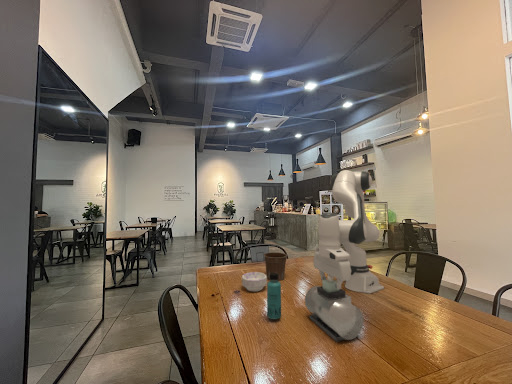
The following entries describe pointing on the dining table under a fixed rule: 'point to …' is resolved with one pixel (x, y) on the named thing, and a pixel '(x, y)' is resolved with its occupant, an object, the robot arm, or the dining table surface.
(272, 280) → the beverage bottle
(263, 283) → the paper bowls
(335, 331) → the motor
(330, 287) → the block
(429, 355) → the dining table surface
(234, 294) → the dining table surface
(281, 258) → the plant pot
